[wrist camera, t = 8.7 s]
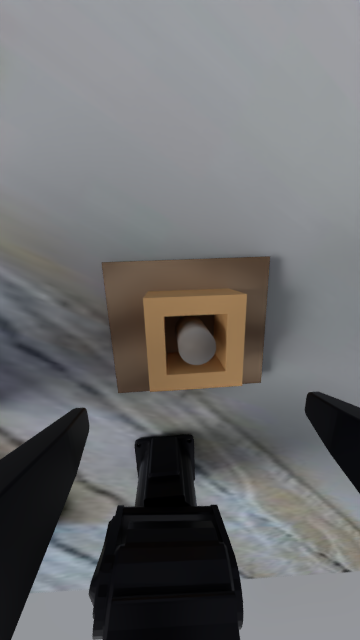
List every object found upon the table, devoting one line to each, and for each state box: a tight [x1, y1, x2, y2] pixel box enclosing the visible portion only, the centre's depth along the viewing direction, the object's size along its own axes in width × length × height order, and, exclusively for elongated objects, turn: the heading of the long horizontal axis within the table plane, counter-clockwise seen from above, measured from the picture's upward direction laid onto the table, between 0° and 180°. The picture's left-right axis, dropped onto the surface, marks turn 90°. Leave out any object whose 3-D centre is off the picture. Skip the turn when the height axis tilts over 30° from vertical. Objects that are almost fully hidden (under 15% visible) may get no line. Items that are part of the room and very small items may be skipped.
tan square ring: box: [143, 288, 247, 392], centre depth 16 cm, size 7×7×4 cm
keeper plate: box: [102, 257, 270, 393], centre depth 17 cm, size 12×14×6 cm
